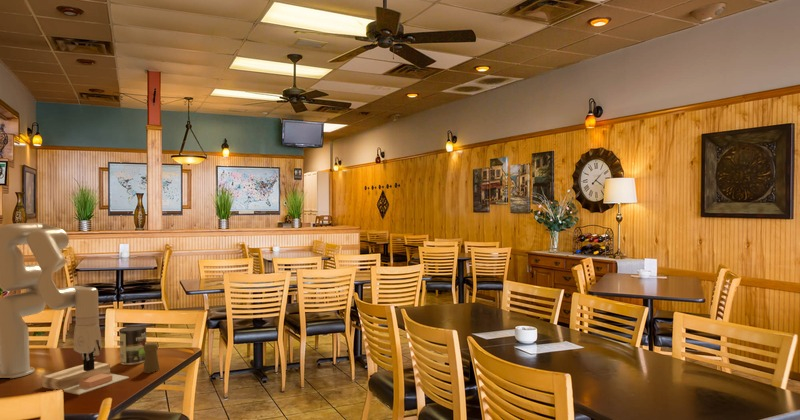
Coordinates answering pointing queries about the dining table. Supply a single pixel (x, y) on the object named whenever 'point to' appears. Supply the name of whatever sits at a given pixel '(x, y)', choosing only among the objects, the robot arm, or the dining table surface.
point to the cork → (151, 358)
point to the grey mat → (81, 390)
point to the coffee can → (132, 345)
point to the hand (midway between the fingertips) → (89, 369)
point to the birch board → (72, 376)
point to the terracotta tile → (95, 380)
